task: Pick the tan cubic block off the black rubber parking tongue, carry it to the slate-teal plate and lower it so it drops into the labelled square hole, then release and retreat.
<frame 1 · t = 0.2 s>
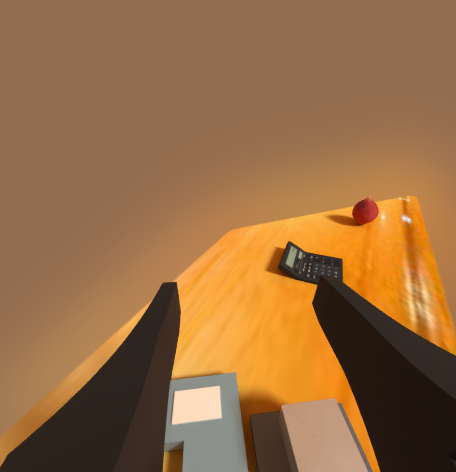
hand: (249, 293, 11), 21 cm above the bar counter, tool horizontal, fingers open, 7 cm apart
calculator: (310, 269, 46), on the bar counter
tan cubic block: (311, 459, 21), point 1 cm above the bar counter, touching parking tongue
parking tongue: (310, 463, 21), on the bar counter
onion: (361, 225, 61), on the bar counter
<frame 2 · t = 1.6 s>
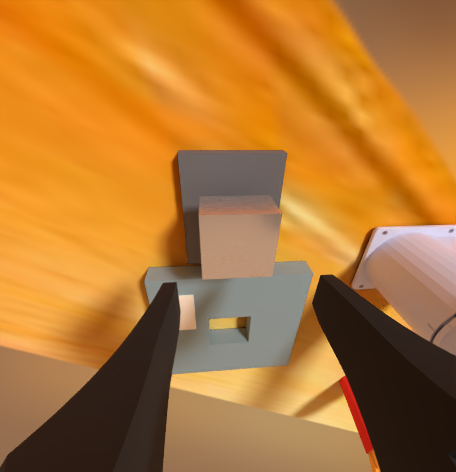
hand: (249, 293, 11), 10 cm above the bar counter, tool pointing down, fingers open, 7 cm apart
tan cubic block: (231, 215, 19), point 1 cm above the bar counter, touching parking tongue
parking tongue: (230, 210, 20), on the bar counter
french fries: (356, 375, 38), on the bar counter
hole plate: (228, 316, 27), on the bar counter
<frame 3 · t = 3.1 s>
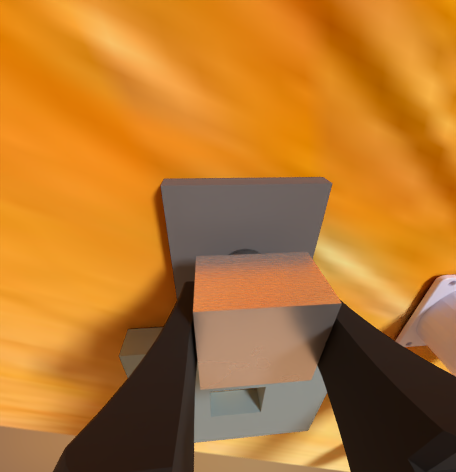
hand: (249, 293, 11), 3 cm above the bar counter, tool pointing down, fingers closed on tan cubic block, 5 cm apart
tan cubic block: (243, 268, 13), point 1 cm above the bar counter, touching gripper, parking tongue
parking tongue: (241, 258, 14), on the bar counter
hole plate: (234, 378, 21), on the bar counter
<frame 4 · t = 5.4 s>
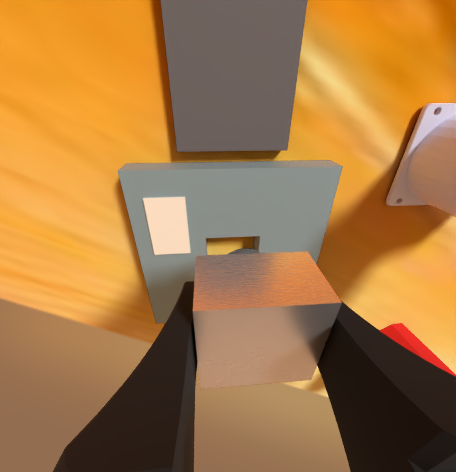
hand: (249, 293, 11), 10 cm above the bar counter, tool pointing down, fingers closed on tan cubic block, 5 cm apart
tan cubic block: (243, 268, 13), point 8 cm above the bar counter, touching gripper
parking tongue: (232, 66, 14), on the bar counter
french fries: (381, 336, 32), on the bar counter
hole plate: (230, 246, 22), on the bar counter
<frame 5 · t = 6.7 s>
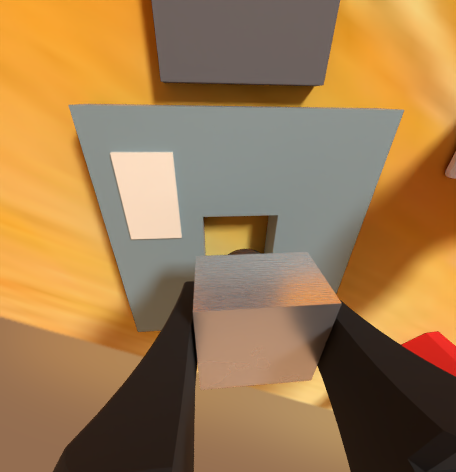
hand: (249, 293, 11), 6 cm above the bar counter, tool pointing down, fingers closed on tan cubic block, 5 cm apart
tan cubic block: (243, 268, 13), point 4 cm above the bar counter, touching gripper
french fries: (411, 346, 27), on the bar counter
hole plate: (235, 232, 17), on the bar counter
when the fingers open (3 cm above the bar counter, at t = 7.8 s): tan cubic block drops 1 cm, resting on hole plate.
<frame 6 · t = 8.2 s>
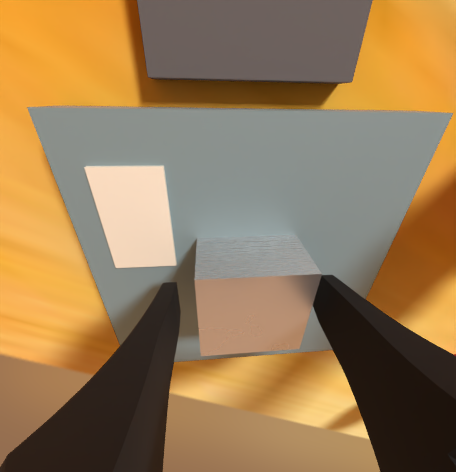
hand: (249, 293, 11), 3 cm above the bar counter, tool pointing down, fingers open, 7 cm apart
tan cubic block: (240, 253, 14), resting on hole plate
hole plate: (240, 253, 14), on the bar counter
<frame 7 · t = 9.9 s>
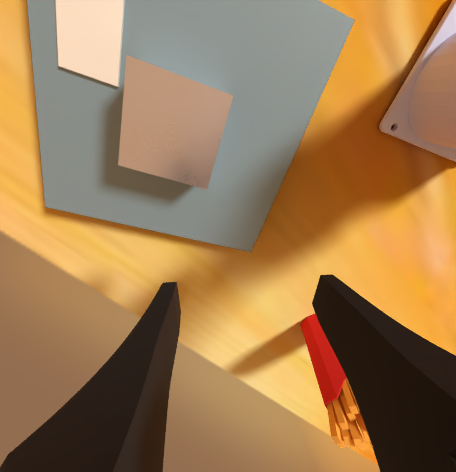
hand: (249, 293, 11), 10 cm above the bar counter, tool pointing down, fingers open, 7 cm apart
tan cubic block: (181, 123, 16), resting on hole plate
french fries: (323, 319, 29), on the bar counter
hole plate: (181, 123, 16), on the bar counter
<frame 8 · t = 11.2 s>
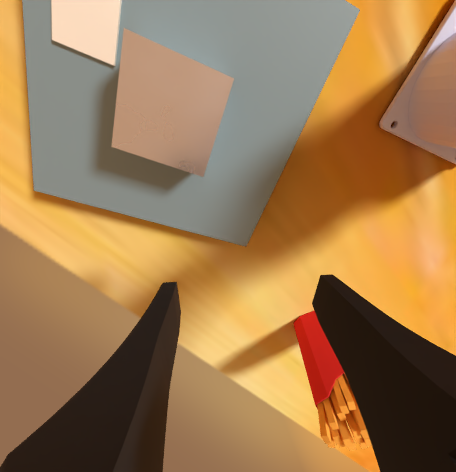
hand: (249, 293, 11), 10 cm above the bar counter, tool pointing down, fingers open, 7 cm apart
tan cubic block: (179, 109, 15), resting on hole plate
french fries: (316, 318, 29), on the bar counter
hole plate: (179, 110, 15), on the bar counter
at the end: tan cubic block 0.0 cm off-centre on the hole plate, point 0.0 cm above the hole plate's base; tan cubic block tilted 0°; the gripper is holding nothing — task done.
